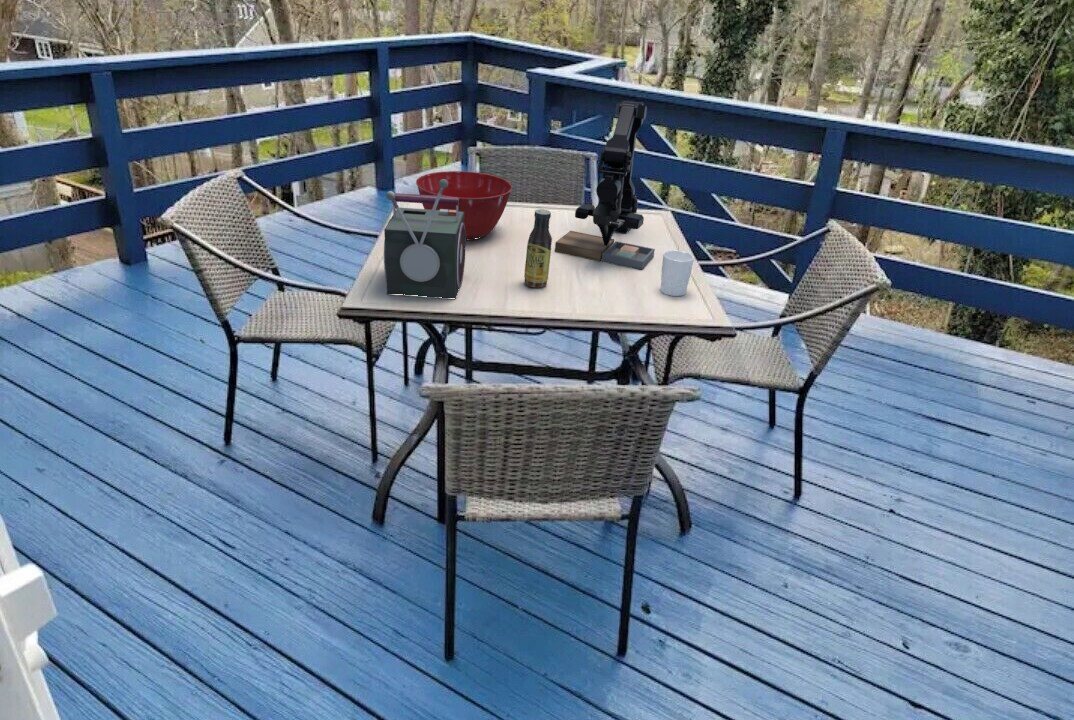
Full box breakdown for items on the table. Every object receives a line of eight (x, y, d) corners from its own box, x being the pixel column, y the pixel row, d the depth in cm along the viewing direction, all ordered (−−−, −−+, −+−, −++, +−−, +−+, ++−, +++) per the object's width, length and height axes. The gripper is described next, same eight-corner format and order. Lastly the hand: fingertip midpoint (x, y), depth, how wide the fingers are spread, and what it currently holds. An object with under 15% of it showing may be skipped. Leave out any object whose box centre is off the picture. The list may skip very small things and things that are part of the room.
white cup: (670, 283, 204) (675, 248, 199) (694, 292, 199) (700, 256, 194) (652, 290, 199) (657, 254, 194) (676, 299, 194) (682, 263, 189)
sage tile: (635, 253, 215) (634, 259, 216) (621, 249, 216) (620, 256, 217) (630, 257, 211) (629, 264, 212) (615, 254, 213) (614, 261, 214)
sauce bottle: (519, 285, 196) (523, 211, 186) (531, 277, 201) (535, 205, 191) (541, 291, 193) (546, 216, 184) (552, 283, 198) (558, 210, 189)
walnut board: (569, 239, 229) (570, 230, 227) (613, 248, 224) (614, 239, 223) (554, 251, 219) (555, 242, 218) (600, 261, 215) (601, 251, 213)
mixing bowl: (496, 216, 245) (497, 169, 237) (522, 246, 221) (524, 195, 214) (409, 220, 236) (408, 171, 229) (426, 252, 213) (426, 198, 205)
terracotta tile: (639, 247, 219) (638, 254, 220) (624, 244, 220) (623, 251, 221) (634, 252, 215) (633, 258, 216) (619, 249, 217) (618, 255, 218)
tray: (614, 249, 224) (615, 241, 223) (653, 257, 220) (654, 248, 219) (601, 261, 214) (602, 253, 213) (642, 270, 211) (643, 261, 209)
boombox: (465, 271, 202) (467, 160, 188) (456, 303, 184) (457, 182, 169) (398, 267, 202) (395, 155, 188) (382, 298, 184) (377, 177, 169)
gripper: (570, 192, 204) (565, 247, 212) (635, 205, 198) (628, 260, 206) (584, 183, 214) (579, 236, 221) (647, 194, 207) (640, 248, 215)
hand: (606, 245), depth 215 cm, fingers closed
